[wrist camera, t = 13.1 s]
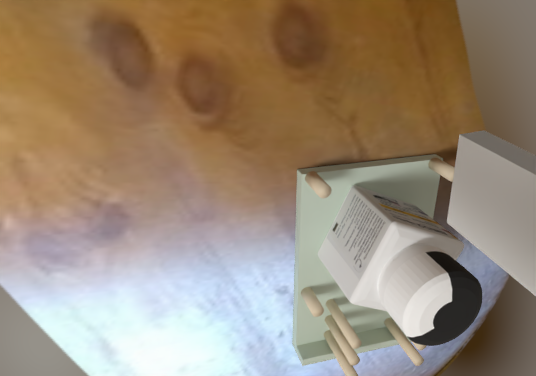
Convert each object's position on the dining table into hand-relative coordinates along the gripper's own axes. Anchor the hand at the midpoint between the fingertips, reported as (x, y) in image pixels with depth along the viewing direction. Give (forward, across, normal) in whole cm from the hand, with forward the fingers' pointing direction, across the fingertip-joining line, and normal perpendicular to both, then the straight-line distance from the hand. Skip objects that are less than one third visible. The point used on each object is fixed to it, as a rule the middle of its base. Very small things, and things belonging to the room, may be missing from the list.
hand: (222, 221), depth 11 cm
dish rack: (+25, +17, -22) cm, 37 cm away
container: (+24, +17, -18) cm, 35 cm away
